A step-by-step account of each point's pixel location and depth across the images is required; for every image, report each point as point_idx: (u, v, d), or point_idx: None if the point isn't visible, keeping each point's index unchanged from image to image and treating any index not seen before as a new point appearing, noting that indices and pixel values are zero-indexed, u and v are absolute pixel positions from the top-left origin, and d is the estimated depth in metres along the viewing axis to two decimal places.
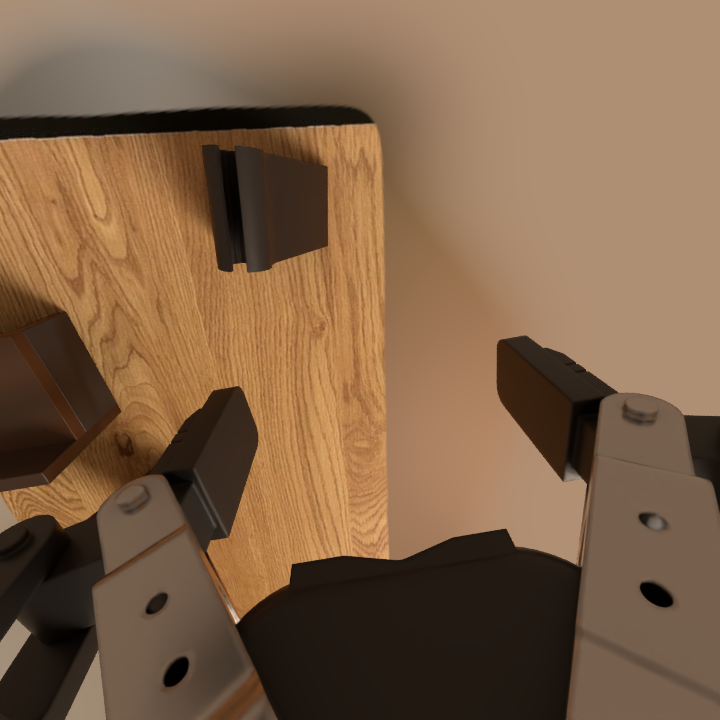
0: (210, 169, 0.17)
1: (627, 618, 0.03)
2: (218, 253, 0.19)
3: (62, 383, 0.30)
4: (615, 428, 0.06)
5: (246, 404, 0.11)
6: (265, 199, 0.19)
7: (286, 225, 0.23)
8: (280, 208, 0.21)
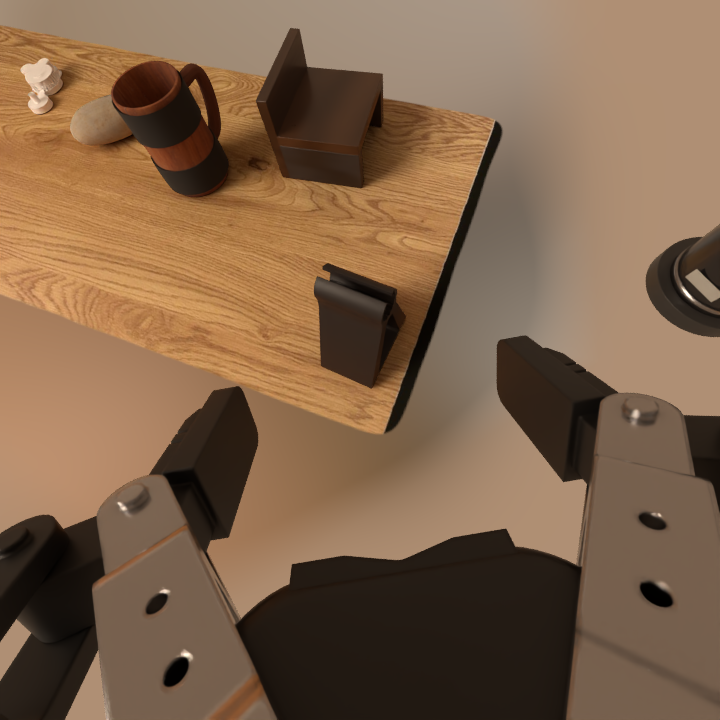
0: (381, 285, 0.27)
1: (627, 618, 0.03)
2: (336, 267, 0.28)
3: (318, 154, 0.42)
4: (615, 428, 0.06)
5: (246, 404, 0.11)
6: (354, 311, 0.27)
7: (339, 327, 0.31)
8: (350, 326, 0.30)
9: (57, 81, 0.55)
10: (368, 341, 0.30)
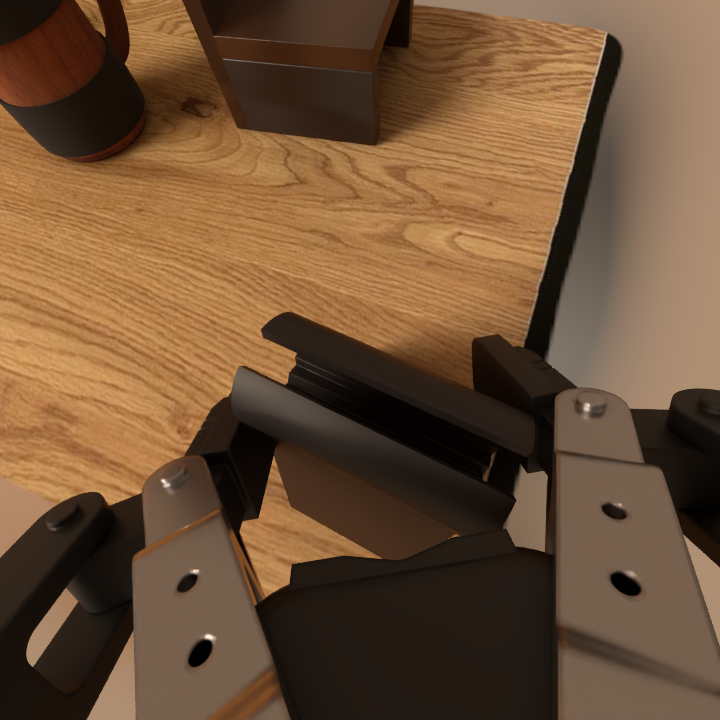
0: (482, 409, 0.07)
1: (602, 611, 0.03)
2: (313, 328, 0.08)
3: (294, 74, 0.22)
4: (571, 422, 0.06)
5: None
6: (376, 491, 0.08)
7: (327, 480, 0.11)
8: (358, 489, 0.10)
9: None
10: (408, 526, 0.11)
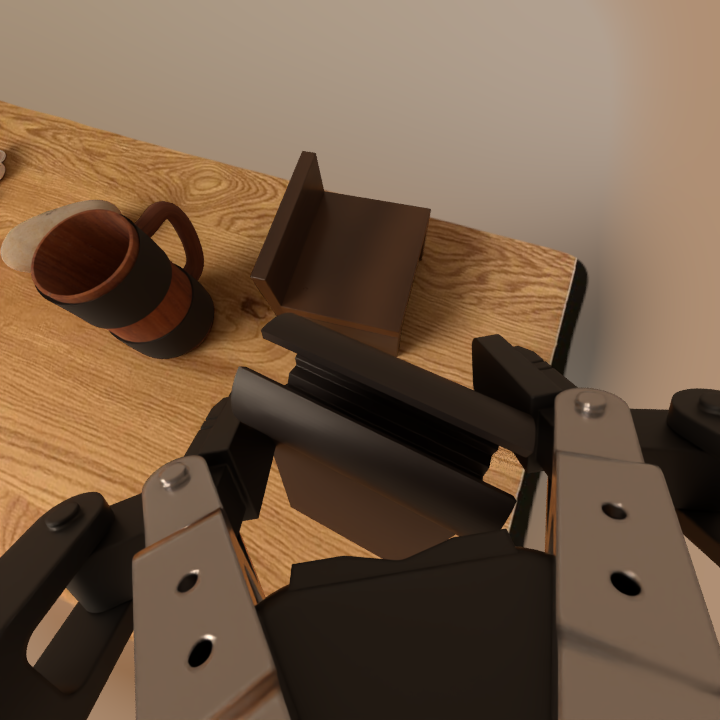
0: (482, 409, 0.07)
1: (602, 611, 0.03)
2: (313, 328, 0.08)
3: (338, 327, 0.29)
4: (571, 422, 0.06)
5: None
6: (376, 492, 0.08)
7: (327, 480, 0.11)
8: (358, 490, 0.10)
9: None
10: (409, 526, 0.11)
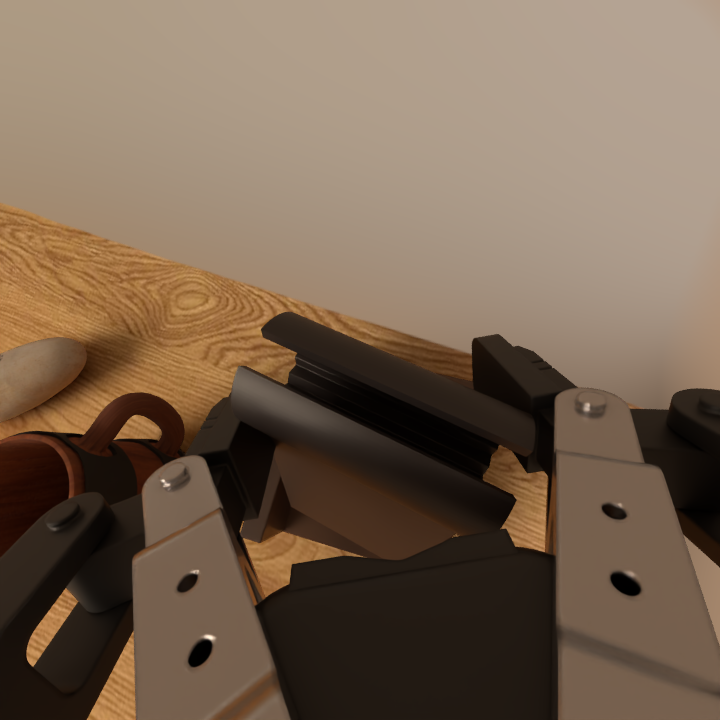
0: (482, 408, 0.07)
1: (602, 612, 0.03)
2: (313, 327, 0.08)
3: None
4: (570, 422, 0.06)
5: None
6: (376, 491, 0.08)
7: (326, 480, 0.11)
8: (358, 489, 0.10)
9: None
10: (408, 526, 0.11)
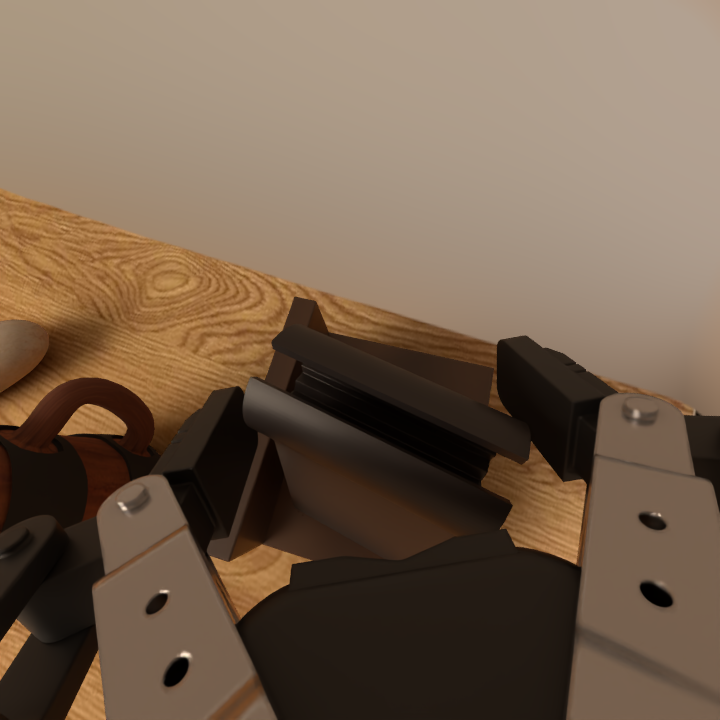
0: (481, 418, 0.07)
1: (627, 618, 0.03)
2: (320, 340, 0.08)
3: None
4: (615, 428, 0.06)
5: None
6: (380, 496, 0.08)
7: (331, 483, 0.11)
8: (361, 492, 0.11)
9: None
10: (410, 528, 0.11)
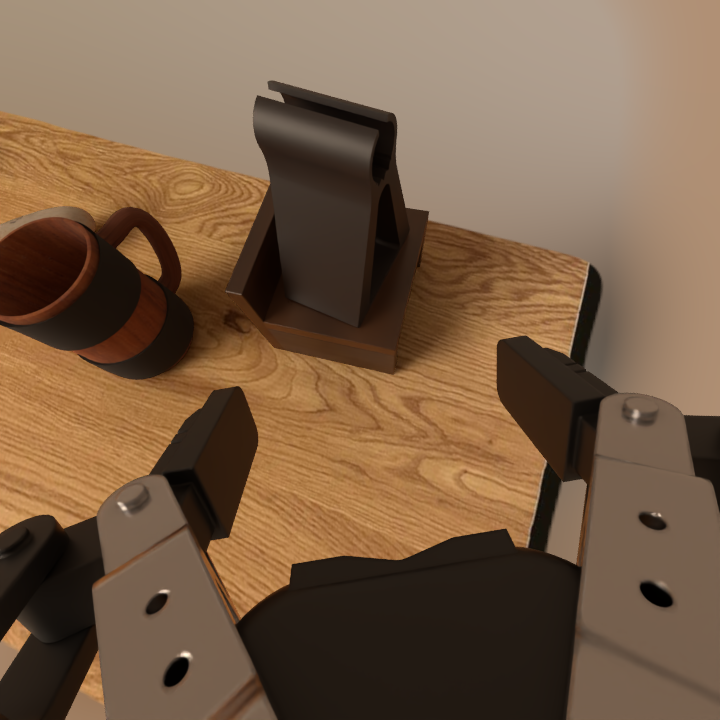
0: (370, 107, 0.15)
1: (627, 618, 0.03)
2: (293, 86, 0.16)
3: (328, 344, 0.26)
4: (615, 428, 0.06)
5: (246, 404, 0.11)
6: (323, 160, 0.16)
7: (304, 213, 0.19)
8: (320, 206, 0.18)
9: None
10: (350, 233, 0.19)
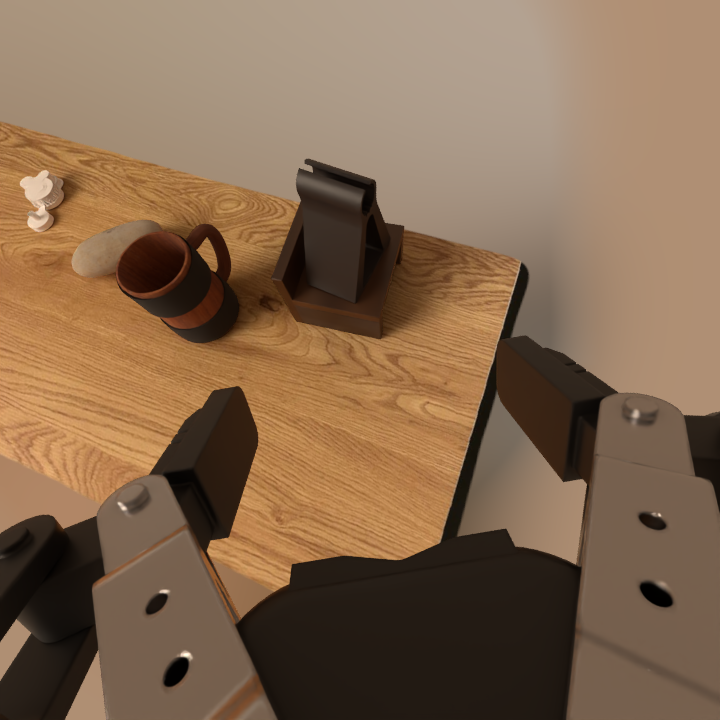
0: (360, 176, 0.28)
1: (627, 618, 0.03)
2: (318, 162, 0.29)
3: (335, 315, 0.39)
4: (615, 428, 0.06)
5: (246, 404, 0.11)
6: (335, 203, 0.28)
7: (322, 230, 0.32)
8: (332, 227, 0.31)
9: (58, 195, 0.53)
10: (350, 243, 0.31)
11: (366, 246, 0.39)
